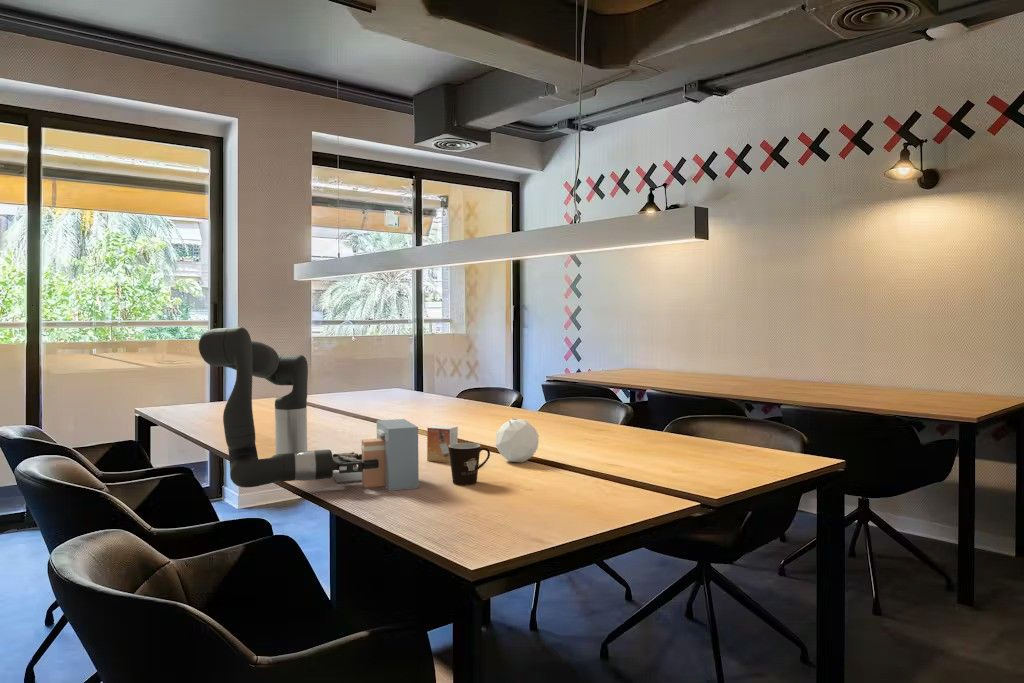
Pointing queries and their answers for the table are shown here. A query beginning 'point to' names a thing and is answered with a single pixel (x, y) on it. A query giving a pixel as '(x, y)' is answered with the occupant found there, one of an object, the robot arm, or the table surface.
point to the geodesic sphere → (517, 440)
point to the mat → (348, 477)
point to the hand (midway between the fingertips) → (375, 460)
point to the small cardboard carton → (370, 452)
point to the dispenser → (400, 453)
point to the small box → (440, 442)
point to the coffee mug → (465, 462)
